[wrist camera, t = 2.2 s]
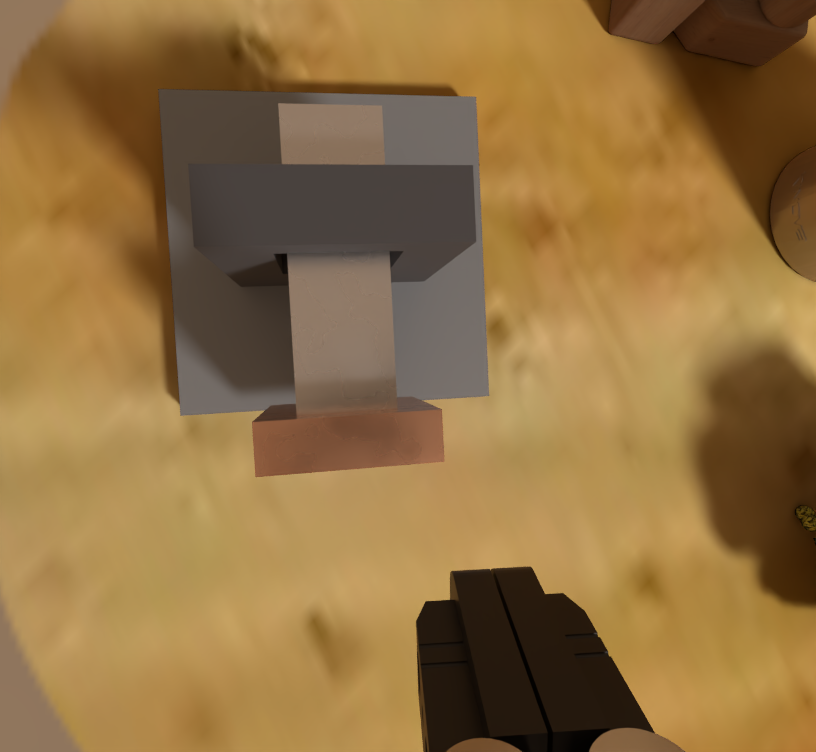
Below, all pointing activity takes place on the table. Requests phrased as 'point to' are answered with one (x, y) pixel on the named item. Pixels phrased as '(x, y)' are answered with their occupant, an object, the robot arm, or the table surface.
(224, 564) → the table surface
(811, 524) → the decorative flower
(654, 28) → the wooden block
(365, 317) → the sliding block
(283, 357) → the base plate
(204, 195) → the rubber collar
